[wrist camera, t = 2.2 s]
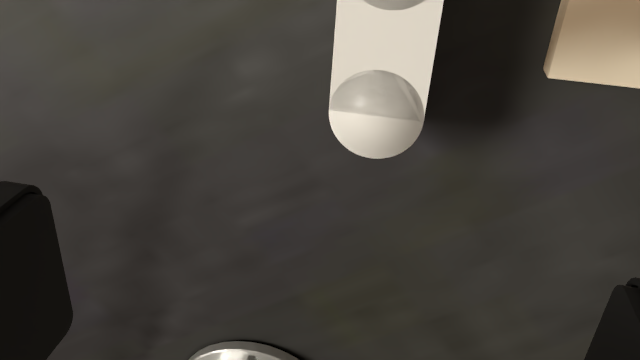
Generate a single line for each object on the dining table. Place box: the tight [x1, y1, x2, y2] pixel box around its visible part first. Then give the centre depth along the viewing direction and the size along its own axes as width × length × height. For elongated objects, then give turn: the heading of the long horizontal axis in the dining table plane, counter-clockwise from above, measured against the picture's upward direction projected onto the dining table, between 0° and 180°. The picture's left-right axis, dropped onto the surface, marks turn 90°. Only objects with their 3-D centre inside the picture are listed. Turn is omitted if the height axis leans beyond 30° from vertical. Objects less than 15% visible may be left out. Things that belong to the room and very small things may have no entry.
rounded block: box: [329, 0, 444, 159], centre depth 27 cm, size 11×4×6 cm, turn 177°
